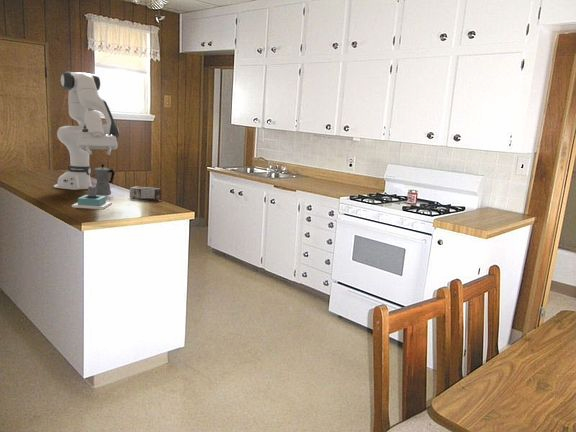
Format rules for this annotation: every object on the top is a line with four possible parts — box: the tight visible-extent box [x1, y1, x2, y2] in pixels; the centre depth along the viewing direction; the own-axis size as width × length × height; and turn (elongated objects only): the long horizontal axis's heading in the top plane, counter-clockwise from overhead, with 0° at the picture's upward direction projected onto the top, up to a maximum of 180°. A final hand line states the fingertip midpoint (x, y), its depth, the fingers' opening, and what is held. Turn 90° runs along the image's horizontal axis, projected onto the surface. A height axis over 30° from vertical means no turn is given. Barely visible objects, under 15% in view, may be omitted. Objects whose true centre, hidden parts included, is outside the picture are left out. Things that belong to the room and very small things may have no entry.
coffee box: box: [129, 185, 162, 202], centre depth 277 cm, size 9×6×16 cm
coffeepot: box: [93, 163, 116, 196], centre depth 281 cm, size 15×9×18 cm, turn 68°
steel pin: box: [87, 185, 97, 199], centre depth 246 cm, size 4×4×9 cm
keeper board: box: [71, 194, 113, 210], centre depth 247 cm, size 16×14×5 cm
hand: (99, 154), depth 247 cm, fingers open, 8 cm apart
